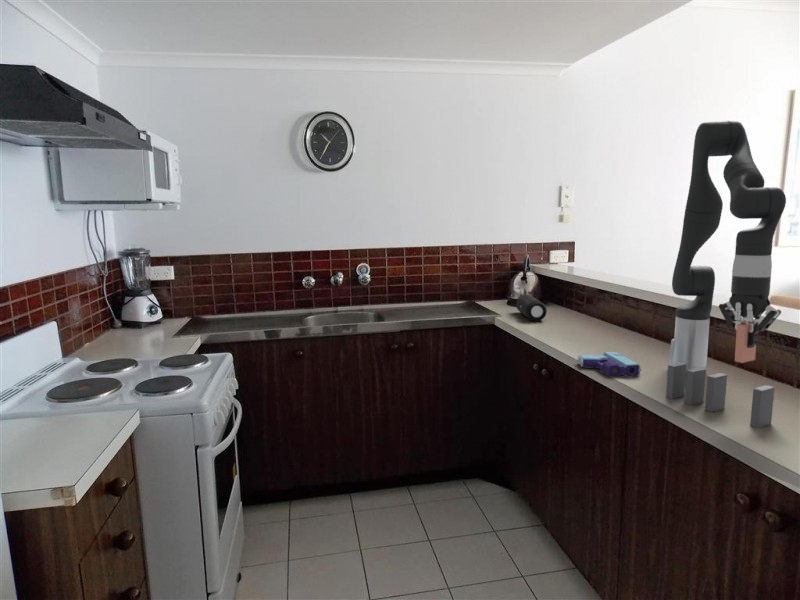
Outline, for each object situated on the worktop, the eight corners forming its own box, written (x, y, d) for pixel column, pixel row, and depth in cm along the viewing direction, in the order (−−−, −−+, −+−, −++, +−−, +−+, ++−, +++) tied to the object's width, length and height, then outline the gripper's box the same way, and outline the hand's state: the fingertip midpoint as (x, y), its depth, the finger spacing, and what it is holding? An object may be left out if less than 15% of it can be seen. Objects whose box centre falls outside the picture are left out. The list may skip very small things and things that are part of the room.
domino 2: (684, 403, 134) (687, 370, 133) (697, 399, 136) (699, 367, 135) (691, 405, 133) (693, 372, 131) (703, 401, 135) (706, 369, 133)
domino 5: (750, 425, 119) (753, 388, 118) (762, 421, 122) (766, 385, 120) (758, 428, 118) (761, 390, 116) (771, 423, 120) (774, 387, 118)
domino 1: (666, 396, 139) (668, 364, 138) (678, 393, 141) (680, 362, 140) (671, 398, 137) (674, 366, 136) (684, 395, 140) (686, 363, 138)
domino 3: (704, 409, 129) (707, 375, 128) (717, 406, 131) (720, 372, 130) (711, 412, 128) (714, 377, 126) (724, 408, 130) (727, 374, 128)
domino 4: (734, 361, 122) (736, 324, 121) (747, 358, 124) (749, 322, 123) (742, 362, 121) (744, 325, 119) (755, 359, 123) (757, 323, 121)
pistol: (573, 365, 172) (616, 362, 173) (594, 379, 156) (641, 376, 157) (573, 353, 171) (616, 350, 172) (594, 367, 156) (641, 363, 157)
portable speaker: (514, 312, 264) (515, 293, 262) (533, 312, 264) (534, 293, 262) (526, 322, 239) (527, 301, 237) (548, 322, 239) (548, 301, 237)
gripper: (793, 275, 115) (786, 350, 117) (731, 271, 127) (726, 339, 130) (773, 277, 112) (767, 354, 114) (712, 273, 124) (707, 342, 126)
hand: (745, 346), depth 122 cm, fingers closed on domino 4, 1 cm apart
